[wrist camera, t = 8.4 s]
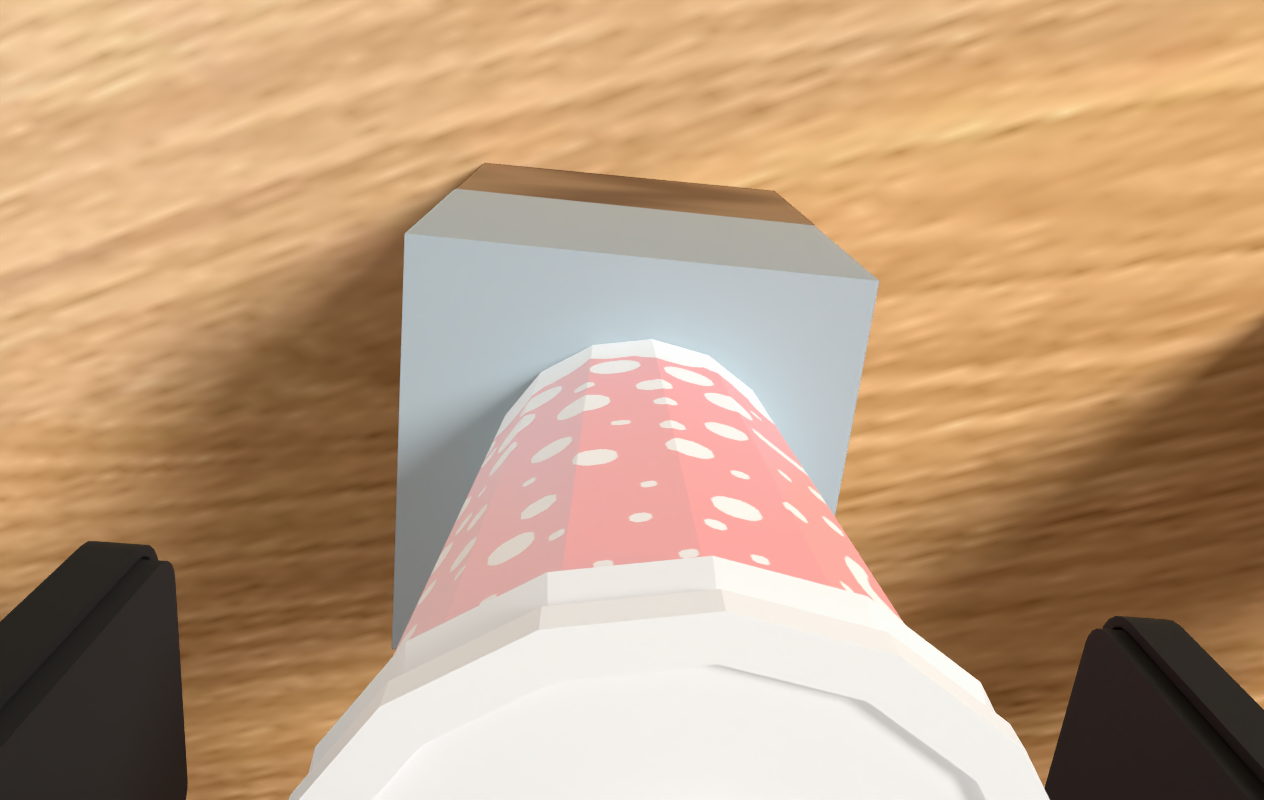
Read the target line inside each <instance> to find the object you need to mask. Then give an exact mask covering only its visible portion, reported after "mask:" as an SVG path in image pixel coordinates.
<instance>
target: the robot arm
mask: <svg viewBox="0 0 1264 800" xmlns="http://www.w3.org/2000/svg"><path fill="white" fill-rule="evenodd" d="M1045 791H1046V793H1047V795H1048V797H1049V799H1050V800H1264V710H1263V709H1262V708H1261V707H1260V706H1259V705H1258V704H1257V703H1256V702H1255V701H1254V700H1253V699H1252V698H1251V697H1250V696H1249V695H1248V694H1247V693H1246V692H1245V691H1244V690H1243V689H1242V688H1241V687H1240V685H1239V684H1238V683H1237V682H1236V681H1235V680H1234V679H1233V678H1232V677H1231V676H1230V675H1229V674H1228V673H1227V672H1226V671H1225V670H1224V669H1223V668H1222V667H1221V666H1220V665H1219V664H1218V663H1217V662H1216V661H1215V660H1214V659H1213V658H1212V657H1211V656H1210V655H1209V654H1208V653H1207V652H1206V651H1205V650H1204V649H1203V648H1202V647H1201V646H1200V645H1199V644H1198V643H1197V642H1196V641H1195V640H1194V639H1193V638H1192V637H1191V636H1190V635H1189V634H1188V633H1187V632H1186V631H1185V630H1184V629H1183V628H1182V627H1181V626H1180V625H1178V624H1177V623H1175V622H1174V621H1171V620H1164V619H1150V618H1136V617H1123V616H1115V617H1113V618H1110V619H1109V620H1108V621H1107V622H1106V624H1105V625H1104V627H1103V629H1095V630H1093V631H1092V632H1091V633H1090V635H1089V636H1088V638H1087V641H1086V643H1085V647H1084V650H1083V654H1082V658H1081V661H1080V665H1079V668H1078V672H1077V675H1076V679H1075V682H1074V686H1073V689H1072V693H1071V697H1070V700H1069V704H1068V707H1067V711H1066V714H1065V718H1064V721H1063V725H1062V728H1061V732H1060V736H1059V739H1058V743H1057V746H1056V750H1055V753H1054V757H1053V760H1052V764H1051V767H1050V771H1049V774H1048V778H1047V782H1046V785H1045ZM186 795H187V765H186V748H185V732H184V716H183V699H182V683H181V667H180V650H179V634H178V618H177V601H176V585H175V574H174V569H173V566H172V564H171V563H170V562H168V561H158V558H157V555H156V553H155V550H154V549H153V548H152V547H151V546H150V545H139V544H125V543H111V542H98V541H88V542H86V543H85V544H83V545H82V546H80V547H79V548H78V549H77V550H76V551H75V552H74V553H73V554H72V555H71V556H70V557H69V558H68V559H67V560H66V561H65V562H63V563H62V564H61V565H60V566H59V567H58V568H57V569H56V570H55V571H54V572H53V573H52V574H51V575H50V576H49V577H48V578H46V579H45V580H44V581H43V582H42V583H41V584H40V585H39V586H38V587H37V588H36V589H35V590H34V591H33V592H32V593H30V594H29V595H28V596H27V597H26V598H25V599H24V600H23V601H22V602H21V603H20V604H19V605H18V606H17V607H16V608H15V609H13V610H12V611H11V612H10V613H9V614H8V615H7V616H6V617H5V618H4V619H3V620H2V621H1V622H0V800H186Z"/></svg>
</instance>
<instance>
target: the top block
mask: <svg viewBox="0 0 1264 800" xmlns="http://www.w3.org/2000/svg"><path fill="white" fill-rule="evenodd" d="M878 285H879V280H878V279H876V278H875V277H874V276H873V275H872V274H871V273H869V272H868V271H867V270H866V269H865V268H864V267H862V266H861V265H860V264H859V263H858V262H856V261H855V260H854V259H853V258H852V257H851V256H849V255H848V254H847V253H846V252H845V251H844V250H842V249H841V248H840V247H839V246H838V245H836V244H835V243H834V242H833V241H832V240H831V239H829V238H828V237H827V236H826V235H825V234H824V233H822V232H821V231H820V230H819V229H818V228H816V227H815V226H814V225H804V224H795V223H785V222H775V221H765V220H756V219H746V218H736V217H726V216H717V215H707V214H697V213H687V212H678V211H668V210H658V209H649V208H639V207H629V206H620V205H610V204H600V203H590V202H581V201H571V200H561V199H551V198H542V197H532V196H522V195H513V194H503V193H493V192H483V191H474V190H464V189H454V190H453V191H452V192H450V193H449V194H448V195H447V196H446V197H445V198H444V199H443V200H441V201H440V202H439V203H438V204H437V205H436V206H435V207H434V208H433V209H431V210H430V211H429V212H428V213H427V214H426V215H425V216H424V217H422V218H421V219H420V220H419V221H418V222H417V223H416V224H415V225H413V226H412V227H411V228H410V229H409V230H408V231H407V232H406V233H405V237H404V270H403V302H402V335H401V367H400V400H399V432H398V464H397V497H396V529H395V562H394V594H393V627H392V649H397V646H398V644H399V642H400V640H401V638H402V636H403V634H404V631H405V629H406V627H407V625H408V623H409V621H410V619H411V616H412V614H413V612H414V610H415V608H416V606H417V604H418V601H419V599H420V597H421V595H422V593H423V591H424V589H425V586H426V584H427V582H428V580H429V578H430V576H431V574H432V571H433V569H434V567H435V565H436V563H437V561H438V559H439V556H440V554H441V552H442V550H443V548H444V546H445V544H446V541H447V539H448V537H449V535H450V533H451V531H452V529H453V526H454V524H455V522H456V520H457V518H458V516H459V514H460V511H461V509H462V507H463V505H464V503H465V501H466V499H467V496H468V494H469V492H470V490H471V488H472V486H473V483H474V481H475V479H476V477H477V475H478V473H479V471H480V468H481V466H482V464H483V462H484V460H485V458H486V456H487V453H488V451H489V449H490V447H491V445H492V443H493V441H494V438H495V436H496V434H497V432H498V430H499V428H500V426H501V423H502V421H503V419H504V417H505V415H506V414H507V413H508V411H509V410H510V409H511V408H512V407H513V405H514V404H515V403H516V402H517V401H518V399H519V398H520V397H521V396H522V395H523V393H524V392H525V391H526V390H527V388H528V387H529V386H530V385H531V384H532V382H533V381H534V380H535V379H536V378H537V376H538V375H539V374H540V373H541V372H542V371H544V370H546V369H548V368H550V367H552V366H554V365H556V364H558V363H560V362H561V361H563V360H565V359H567V358H569V357H571V356H573V355H575V354H577V353H579V352H581V351H582V350H584V349H586V348H588V347H590V346H592V345H599V344H609V343H618V342H628V341H638V340H648V339H653V340H657V341H660V342H664V343H667V344H671V345H674V346H678V347H681V348H685V349H688V350H692V351H695V352H699V353H702V354H706V355H709V356H710V357H711V358H713V359H714V360H715V361H716V362H718V363H719V364H720V365H721V366H723V367H724V368H725V369H726V370H728V371H729V372H730V373H731V374H733V375H734V376H735V377H736V378H738V379H739V380H740V381H741V382H743V383H744V384H745V385H746V386H748V387H749V388H750V389H751V390H753V392H754V393H755V395H756V396H757V398H758V400H759V401H760V403H761V404H762V406H763V407H764V409H765V410H766V412H767V413H768V415H769V416H770V418H771V420H772V421H773V423H774V424H775V426H776V427H777V429H778V430H779V432H780V433H781V435H782V436H783V438H784V440H785V441H786V443H787V444H788V446H789V447H790V449H791V450H792V452H793V453H794V455H795V456H796V458H797V460H798V461H799V463H800V464H801V466H802V467H803V469H804V470H805V472H806V473H807V475H808V476H809V478H810V480H811V481H812V483H813V484H814V486H815V487H816V489H817V490H818V492H819V493H820V495H821V496H822V498H823V500H824V501H825V503H826V504H827V506H828V507H829V509H830V510H831V512H832V513H833V515H834V516H835V513H836V507H837V502H838V497H839V491H840V486H841V481H842V476H843V470H844V465H845V460H846V454H847V449H848V444H849V439H850V433H851V428H852V423H853V417H854V412H855V407H856V402H857V396H858V391H859V386H860V380H861V375H862V370H863V364H864V359H865V354H866V349H867V343H868V338H869V333H870V327H871V322H872V317H873V312H874V306H875V301H876V296H877V290H878Z"/></svg>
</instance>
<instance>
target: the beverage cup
mask: <svg viewBox="0 0 1264 800" xmlns="http://www.w3.org/2000/svg"><path fill="white" fill-rule="evenodd" d="M289 800H1050V799H1049V797H1048V795H1047V793H1046V791H1045V789H1044V787H1043V785H1042V783H1041V781H1040V779H1039V777H1038V774H1037V772H1036V770H1035V768H1034V766H1033V764H1032V762H1031V760H1030V758H1029V756H1028V754H1027V752H1026V750H1025V748H1024V747H1023V745H1022V743H1021V741H1020V740H1019V738H1018V736H1017V735H1016V733H1015V731H1014V730H1013V728H1012V726H1011V725H1010V723H1008V722H1007V721H1006V720H1004V719H1003V718H1002V717H1000V716H999V715H998V714H996V713H995V711H994V709H993V707H992V705H991V703H990V700H989V698H988V696H987V694H986V692H985V690H984V688H983V686H982V684H981V682H980V681H978V680H977V679H976V678H974V677H973V676H972V675H970V674H969V673H968V672H966V671H965V670H964V669H962V668H961V667H960V666H959V665H957V664H956V663H955V662H953V661H952V660H951V659H949V658H948V657H947V656H945V655H944V654H943V653H941V652H940V651H939V650H937V649H936V648H935V647H934V646H932V645H931V644H930V643H928V642H927V641H926V640H924V639H923V638H922V637H920V636H919V635H918V634H916V633H915V632H914V631H913V630H911V629H910V628H909V627H907V626H906V625H905V624H904V623H903V621H902V620H901V618H900V617H899V615H898V613H897V612H896V610H895V609H894V607H893V606H892V604H891V603H890V601H889V600H888V598H887V597H886V595H885V593H884V592H883V590H882V589H881V587H880V586H879V584H878V583H877V581H876V580H875V578H874V577H873V575H872V573H871V572H870V570H869V569H868V567H867V566H866V564H865V563H864V561H863V560H862V558H861V557H860V555H859V553H858V552H857V550H856V549H855V547H854V546H853V544H852V543H851V541H850V540H849V538H848V537H847V535H846V533H845V532H844V530H843V529H842V527H841V526H840V524H839V523H838V521H837V520H836V518H835V516H834V515H833V513H832V512H831V510H830V509H829V507H828V506H827V504H826V503H825V501H824V500H823V498H822V496H821V495H820V493H819V492H818V490H817V489H816V487H815V486H814V484H813V483H812V481H811V480H810V478H809V476H808V475H807V473H806V472H805V470H804V469H803V467H802V466H801V464H800V463H799V461H798V460H797V458H796V456H795V455H794V453H793V452H792V450H791V449H790V447H789V446H788V444H787V443H786V441H785V440H784V438H783V436H782V435H781V433H780V432H779V430H778V429H777V427H776V426H775V424H774V423H773V421H772V420H771V418H770V416H769V415H768V413H767V412H766V410H765V409H764V407H763V406H762V404H761V403H760V401H759V400H758V398H757V396H756V395H755V393H754V392H753V390H751V389H750V388H749V387H748V386H746V385H745V384H744V383H743V382H741V381H740V380H739V379H738V378H736V377H735V376H734V375H733V374H731V373H730V372H729V371H728V370H726V369H725V368H724V367H723V366H721V365H720V364H719V363H718V362H716V361H715V360H714V359H713V358H711V357H710V356H709V355H706V354H702V353H699V352H695V351H692V350H688V349H685V348H681V347H678V346H674V345H671V344H667V343H664V342H660V341H657V340H653V339H648V340H638V341H628V342H618V343H609V344H599V345H592V346H590V347H588V348H586V349H584V350H582V351H581V352H579V353H577V354H575V355H573V356H571V357H569V358H567V359H565V360H563V361H561V362H560V363H558V364H556V365H554V366H552V367H550V368H548V369H546V370H544V371H542V372H541V373H540V374H539V375H538V376H537V378H536V379H535V380H534V381H533V382H532V384H531V385H530V386H529V387H528V388H527V390H526V391H525V392H524V393H523V395H522V396H521V397H520V398H519V399H518V401H517V402H516V403H515V404H514V405H513V407H512V408H511V409H510V410H509V411H508V413H507V414H506V415H505V417H504V419H503V421H502V423H501V426H500V428H499V430H498V432H497V434H496V436H495V438H494V441H493V443H492V445H491V447H490V449H489V451H488V453H487V456H486V458H485V460H484V462H483V464H482V466H481V468H480V471H479V473H478V475H477V477H476V479H475V481H474V483H473V486H472V488H471V490H470V492H469V494H468V496H467V499H466V501H465V503H464V505H463V507H462V509H461V511H460V514H459V516H458V518H457V520H456V522H455V524H454V526H453V529H452V531H451V533H450V535H449V537H448V539H447V541H446V544H445V546H444V548H443V550H442V552H441V554H440V556H439V559H438V561H437V563H436V565H435V567H434V569H433V571H432V574H431V576H430V578H429V580H428V582H427V584H426V586H425V589H424V591H423V593H422V595H421V597H420V599H419V601H418V604H417V606H416V608H415V610H414V612H413V614H412V616H411V619H410V621H409V623H408V625H407V627H406V629H405V631H404V634H403V636H402V638H401V640H400V642H399V644H398V646H397V649H396V651H395V653H394V655H393V657H392V658H391V659H390V661H389V662H388V663H387V664H386V665H385V666H384V668H383V669H382V670H381V671H380V672H379V673H378V675H377V676H376V677H375V678H374V679H373V680H372V682H371V683H370V684H369V685H368V686H367V687H366V689H365V690H364V691H363V692H362V693H361V694H360V696H359V697H358V698H357V699H356V700H355V701H354V703H353V704H352V705H351V706H350V707H349V708H348V710H347V711H346V712H345V713H344V714H343V715H342V717H341V718H340V719H339V720H338V721H337V722H336V724H335V725H334V726H333V727H332V728H331V729H330V731H329V732H328V733H327V734H326V735H325V736H324V738H323V739H322V740H321V741H320V742H319V743H318V745H317V746H316V747H315V750H314V754H313V758H312V762H311V766H310V770H309V774H308V775H307V776H306V777H305V778H304V779H303V781H302V782H301V783H300V784H299V785H298V786H297V788H296V789H295V790H294V791H293V792H292V793H291V795H290V798H289Z"/></svg>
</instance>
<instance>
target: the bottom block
mask: <svg viewBox="0 0 1264 800" xmlns="http://www.w3.org/2000/svg"><path fill="white" fill-rule="evenodd" d="M457 189H464V190H474V191H483V192H493V193H503V194H513V195H522V196H532V197H542V198H551V199H561V200H571V201H581V202H590V203H600V204H610V205H620V206H629V207H639V208H649V209H658V210H668V211H678V212H687V213H697V214H707V215H717V216H726V217H736V218H746V219H756V220H765V221H775V222H785V223H795V224H804V225H814V224H813V223H812V222H811V221H810V220H808V219H807V218H806V217H805V216H804V215H802V214H801V213H800V212H799V211H798V210H797V209H795V208H794V207H793V206H792V205H791V204H789V203H788V202H787V201H786V200H785V199H784V198H782V197H781V196H780V195H779V194H778V193H776V192H775V191H770V190H760V189H749V188H739V187H729V186H718V185H708V184H698V183H687V182H677V181H666V180H656V179H646V178H635V177H625V176H615V175H604V174H594V173H584V172H573V171H563V170H553V169H542V168H532V167H522V166H511V165H501V164H491V163H484V164H483V165H482V166H481V167H480V168H479V169H478V170H476V171H475V172H474V173H473V174H472V175H471V176H470V177H469V178H468V179H467V180H466V181H464V182H463V183H462V184H461V185H460V186H459V187H458V188H457Z"/></svg>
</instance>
